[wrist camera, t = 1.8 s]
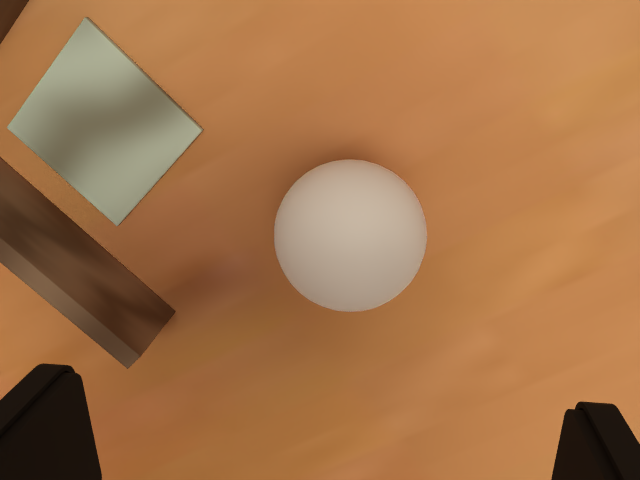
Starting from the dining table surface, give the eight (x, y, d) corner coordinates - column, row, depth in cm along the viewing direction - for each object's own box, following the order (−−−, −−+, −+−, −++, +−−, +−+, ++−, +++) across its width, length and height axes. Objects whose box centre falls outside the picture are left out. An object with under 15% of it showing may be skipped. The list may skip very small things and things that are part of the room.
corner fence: (374, 118, 27) (371, 135, 23) (163, 322, 33) (127, 368, 29) (104, -168, 24) (36, -217, 19) (-75, 115, 30) (-158, 130, 26)
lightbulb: (291, 141, 28) (237, 201, 18) (404, 115, 27) (415, 163, 17) (318, 245, 30) (283, 352, 20) (425, 225, 29) (446, 327, 19)
